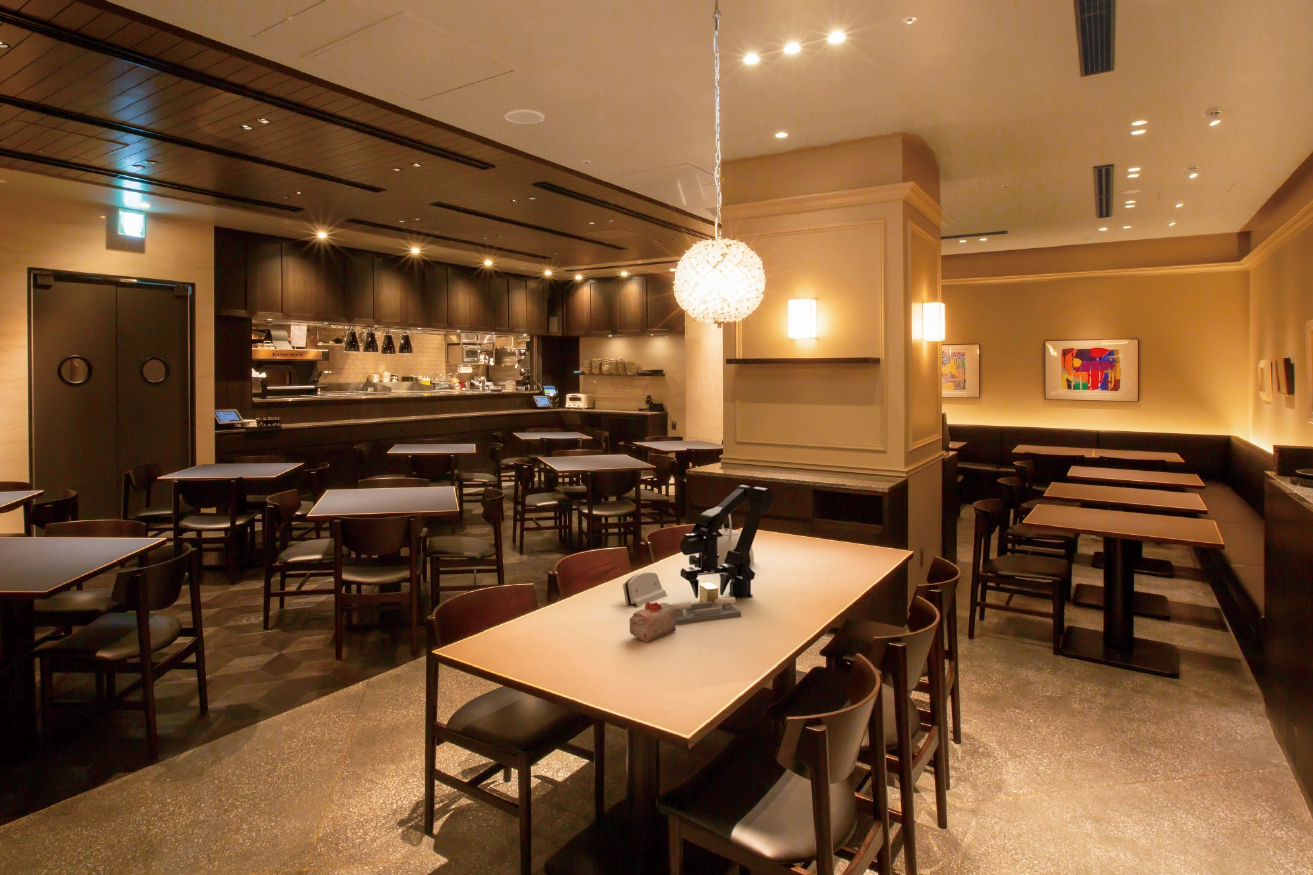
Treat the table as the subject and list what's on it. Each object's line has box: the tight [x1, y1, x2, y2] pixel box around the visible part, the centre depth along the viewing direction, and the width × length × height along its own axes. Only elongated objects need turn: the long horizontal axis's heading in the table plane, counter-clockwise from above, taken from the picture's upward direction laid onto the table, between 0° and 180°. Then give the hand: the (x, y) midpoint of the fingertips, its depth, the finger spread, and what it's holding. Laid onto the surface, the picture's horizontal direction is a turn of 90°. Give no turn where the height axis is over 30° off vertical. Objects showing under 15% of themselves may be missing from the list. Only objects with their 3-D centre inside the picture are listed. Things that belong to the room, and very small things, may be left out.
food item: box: [628, 601, 677, 643], centre depth 206 cm, size 14×8×10 cm, turn 138°
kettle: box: [718, 513, 755, 568], centre depth 291 cm, size 25×23×23 cm
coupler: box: [699, 582, 719, 604], centre depth 236 cm, size 6×4×6 cm, turn 20°
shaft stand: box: [669, 596, 742, 625], centre depth 224 cm, size 22×10×5 cm, turn 110°
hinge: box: [622, 572, 668, 607], centre depth 241 cm, size 17×5×10 cm, turn 142°
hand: (709, 596), depth 237 cm, fingers open, 9 cm apart
